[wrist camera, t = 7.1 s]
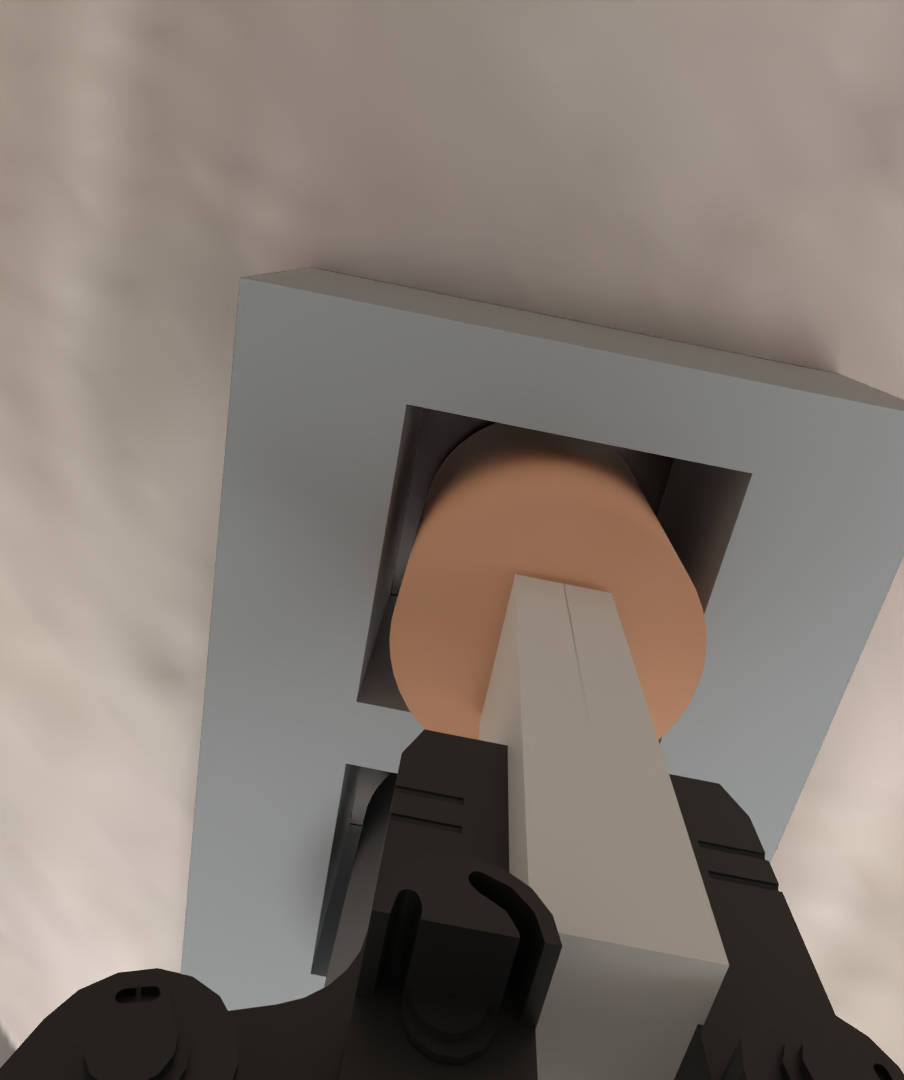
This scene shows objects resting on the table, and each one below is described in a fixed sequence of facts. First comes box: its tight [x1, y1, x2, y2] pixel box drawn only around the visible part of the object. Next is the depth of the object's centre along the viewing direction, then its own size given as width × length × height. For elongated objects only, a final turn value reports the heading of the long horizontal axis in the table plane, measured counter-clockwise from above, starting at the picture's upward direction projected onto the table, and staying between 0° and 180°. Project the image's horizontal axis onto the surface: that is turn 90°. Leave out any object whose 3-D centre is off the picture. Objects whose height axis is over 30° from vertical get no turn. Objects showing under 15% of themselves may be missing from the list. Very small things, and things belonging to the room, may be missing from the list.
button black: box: [324, 773, 398, 987], centre depth 16 cm, size 5×5×6 cm
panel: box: [181, 267, 904, 1011], centre depth 19 cm, size 24×12×5 cm, turn 169°
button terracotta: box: [390, 423, 707, 740], centre depth 15 cm, size 5×5×6 cm
